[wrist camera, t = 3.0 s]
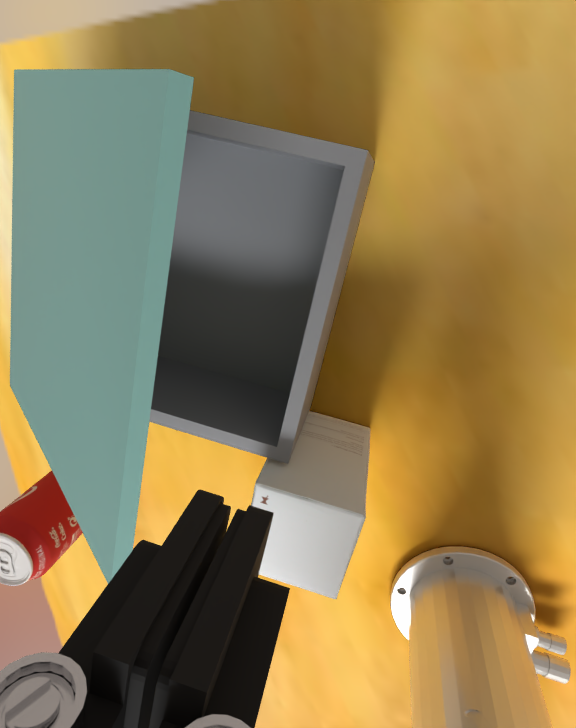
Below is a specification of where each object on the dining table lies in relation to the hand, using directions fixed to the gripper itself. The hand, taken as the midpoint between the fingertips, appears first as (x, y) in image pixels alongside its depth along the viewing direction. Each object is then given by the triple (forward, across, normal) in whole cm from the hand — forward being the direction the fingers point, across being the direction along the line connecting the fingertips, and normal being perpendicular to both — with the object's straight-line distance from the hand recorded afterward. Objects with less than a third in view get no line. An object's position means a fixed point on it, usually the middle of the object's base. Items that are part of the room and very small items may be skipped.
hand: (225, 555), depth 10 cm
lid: (+14, +13, 0) cm, 19 cm away
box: (+31, +10, +1) cm, 32 cm away
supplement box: (+31, -2, +15) cm, 34 cm away
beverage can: (+31, +20, +26) cm, 45 cm away
